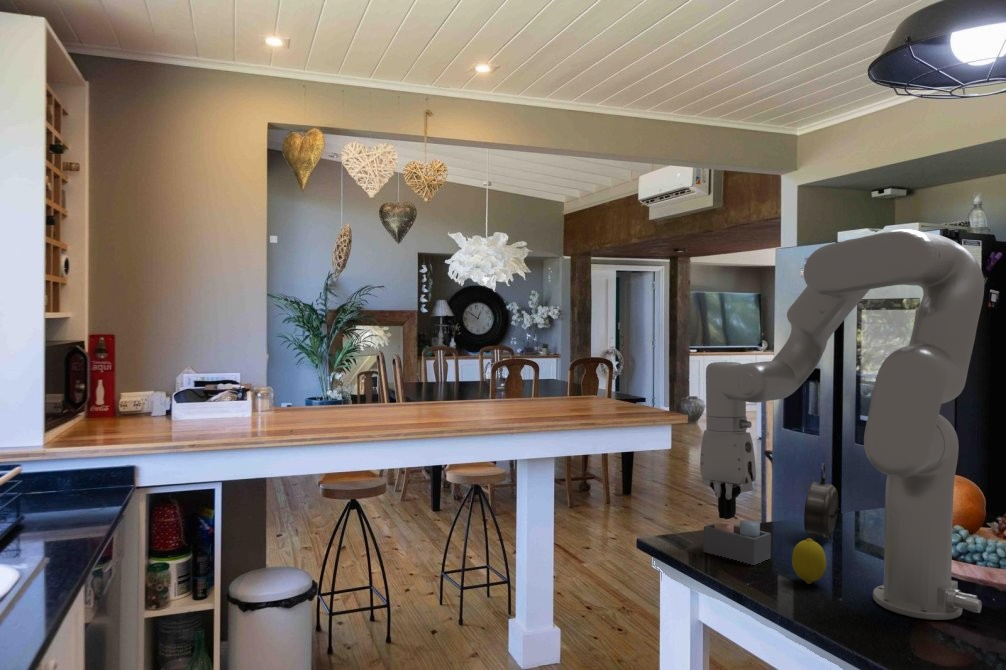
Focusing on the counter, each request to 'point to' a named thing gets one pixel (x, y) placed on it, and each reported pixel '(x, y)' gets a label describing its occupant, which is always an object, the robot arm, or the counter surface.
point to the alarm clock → (821, 509)
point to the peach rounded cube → (725, 526)
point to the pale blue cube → (750, 528)
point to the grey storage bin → (737, 545)
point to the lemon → (809, 560)
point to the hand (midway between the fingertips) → (727, 517)
